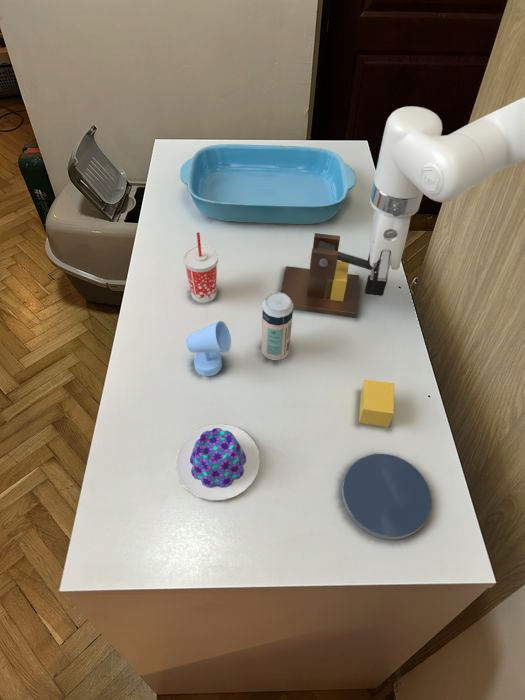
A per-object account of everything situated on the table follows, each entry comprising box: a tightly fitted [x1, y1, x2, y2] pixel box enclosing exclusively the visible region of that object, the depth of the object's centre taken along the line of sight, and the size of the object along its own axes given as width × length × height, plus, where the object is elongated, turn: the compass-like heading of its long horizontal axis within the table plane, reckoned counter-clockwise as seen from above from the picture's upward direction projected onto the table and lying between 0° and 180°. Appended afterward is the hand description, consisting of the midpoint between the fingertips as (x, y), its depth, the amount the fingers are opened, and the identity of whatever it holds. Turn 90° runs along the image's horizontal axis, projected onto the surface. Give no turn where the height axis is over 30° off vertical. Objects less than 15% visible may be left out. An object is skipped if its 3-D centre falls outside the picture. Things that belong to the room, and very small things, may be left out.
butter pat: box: [358, 378, 395, 428], centre depth 81 cm, size 4×6×4 cm
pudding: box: [175, 423, 261, 501], centre depth 75 cm, size 12×12×5 cm
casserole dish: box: [179, 143, 357, 225], centre depth 113 cm, size 37×22×7 cm, turn 89°
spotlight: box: [185, 320, 232, 377], centre depth 84 cm, size 5×10×7 cm
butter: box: [324, 260, 350, 301], centre depth 95 cm, size 4×5×5 cm
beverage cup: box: [182, 232, 219, 303], centre depth 93 cm, size 6×6×14 cm
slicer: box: [280, 232, 360, 319], centre depth 94 cm, size 14×10×12 cm
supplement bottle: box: [260, 291, 294, 361], centre depth 85 cm, size 5×5×12 cm
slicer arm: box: [317, 241, 380, 273], centre depth 91 cm, size 12×6×2 cm, turn 80°
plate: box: [341, 453, 432, 541], centre depth 73 cm, size 12×12×1 cm
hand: (374, 280), depth 94 cm, fingers closed on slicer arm, 5 cm apart
